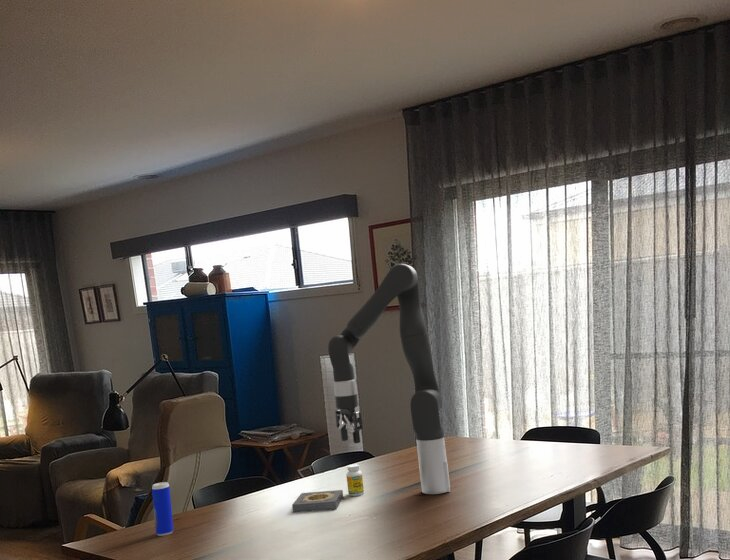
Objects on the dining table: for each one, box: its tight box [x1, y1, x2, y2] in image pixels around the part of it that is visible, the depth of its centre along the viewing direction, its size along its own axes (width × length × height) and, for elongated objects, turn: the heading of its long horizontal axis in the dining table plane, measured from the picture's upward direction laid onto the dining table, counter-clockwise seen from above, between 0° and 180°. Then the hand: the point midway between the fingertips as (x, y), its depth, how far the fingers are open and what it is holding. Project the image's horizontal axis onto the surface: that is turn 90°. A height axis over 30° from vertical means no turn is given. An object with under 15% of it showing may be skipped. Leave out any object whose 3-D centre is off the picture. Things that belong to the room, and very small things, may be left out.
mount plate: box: [291, 489, 344, 514], centre depth 226 cm, size 14×14×2 cm
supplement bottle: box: [346, 463, 365, 497], centre depth 235 cm, size 5×5×10 cm
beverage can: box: [151, 481, 174, 537], centre depth 213 cm, size 5×5×15 cm
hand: (350, 441), depth 236 cm, fingers open, 8 cm apart
